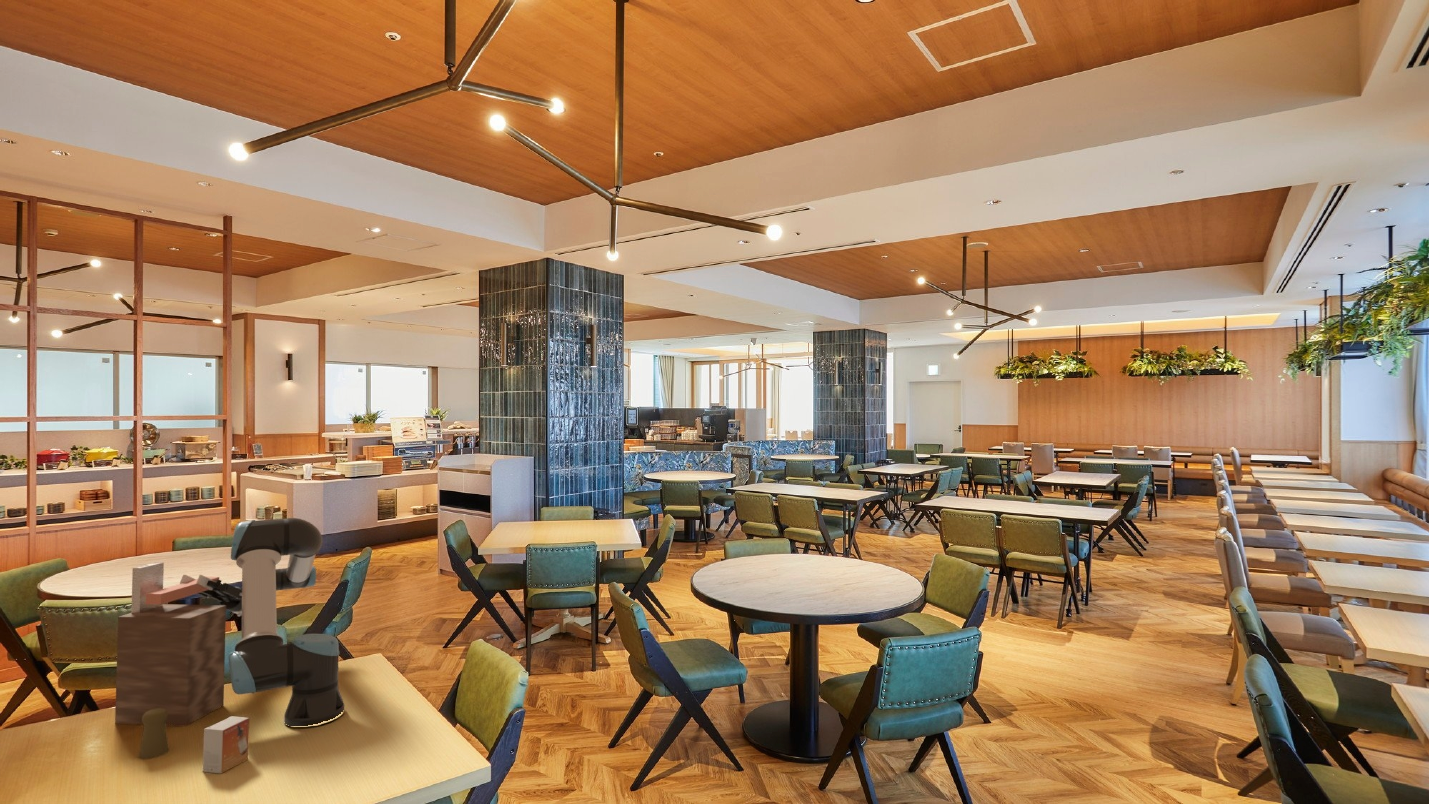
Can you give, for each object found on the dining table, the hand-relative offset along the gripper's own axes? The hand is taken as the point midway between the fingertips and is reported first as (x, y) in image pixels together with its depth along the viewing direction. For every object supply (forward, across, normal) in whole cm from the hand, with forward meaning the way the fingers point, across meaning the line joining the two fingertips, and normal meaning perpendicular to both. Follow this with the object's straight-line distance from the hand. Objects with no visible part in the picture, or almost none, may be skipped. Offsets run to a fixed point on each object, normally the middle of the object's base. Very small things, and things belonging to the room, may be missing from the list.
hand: (190, 579), depth 214 cm
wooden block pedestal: (-12, -2, -36) cm, 38 cm away
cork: (+8, -17, -48) cm, 52 cm away
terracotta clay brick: (0, 0, -5) cm, 5 cm away
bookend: (+2, +8, -10) cm, 13 cm away
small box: (+12, -40, -50) cm, 66 cm away
